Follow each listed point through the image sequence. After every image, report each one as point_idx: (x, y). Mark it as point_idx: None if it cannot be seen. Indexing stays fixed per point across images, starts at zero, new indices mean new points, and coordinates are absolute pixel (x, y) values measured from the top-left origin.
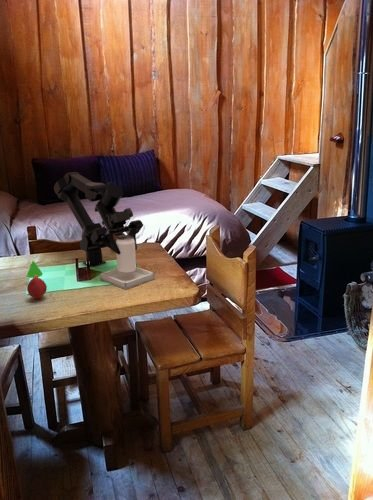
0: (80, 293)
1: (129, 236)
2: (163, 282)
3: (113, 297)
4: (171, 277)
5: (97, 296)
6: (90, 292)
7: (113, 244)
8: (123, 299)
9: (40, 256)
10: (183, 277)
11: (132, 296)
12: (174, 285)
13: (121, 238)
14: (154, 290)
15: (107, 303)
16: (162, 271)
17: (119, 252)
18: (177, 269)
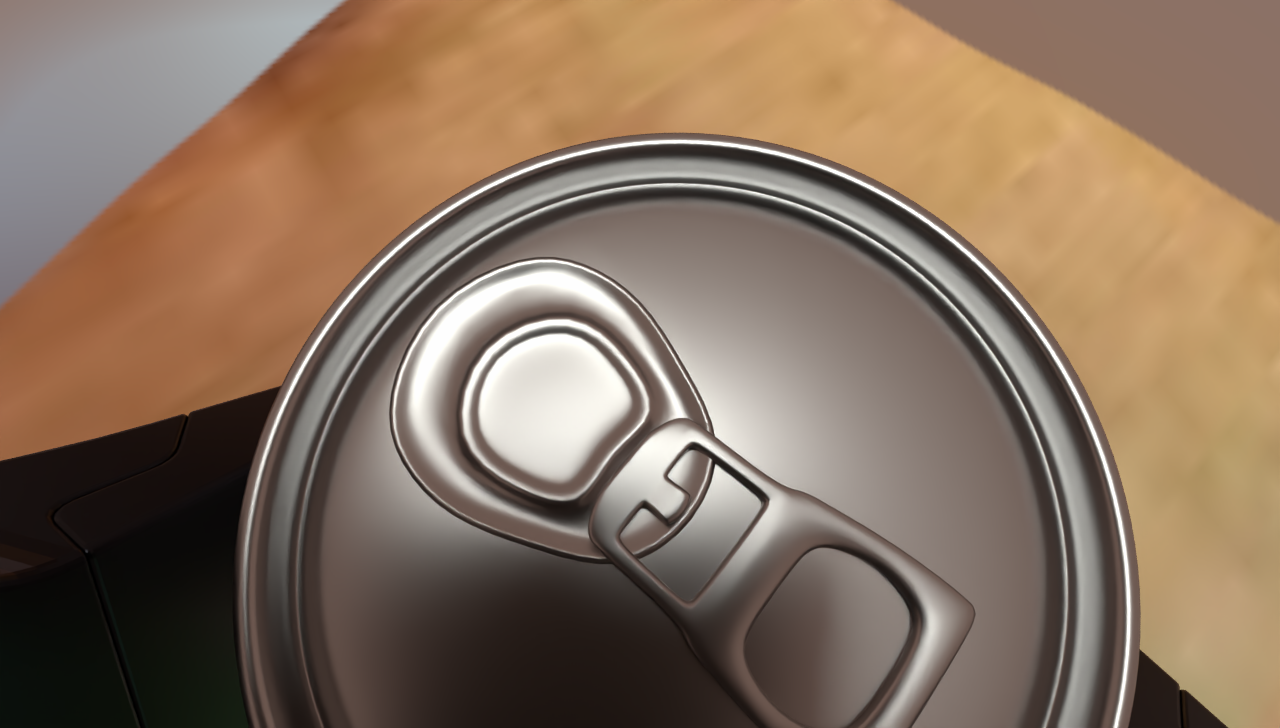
0: (1264, 702)
1: (313, 557)
2: (512, 147)
3: (1079, 316)
4: (354, 157)
5: (1175, 469)
6: (1167, 619)
7: (1200, 705)
8: (1045, 210)
9: None
10: (301, 64)
11: (946, 186)
12: (525, 29)
13: (844, 653)
14: (722, 107)
15: (1201, 272)
16: (227, 338)
17: None
18: (99, 233)
